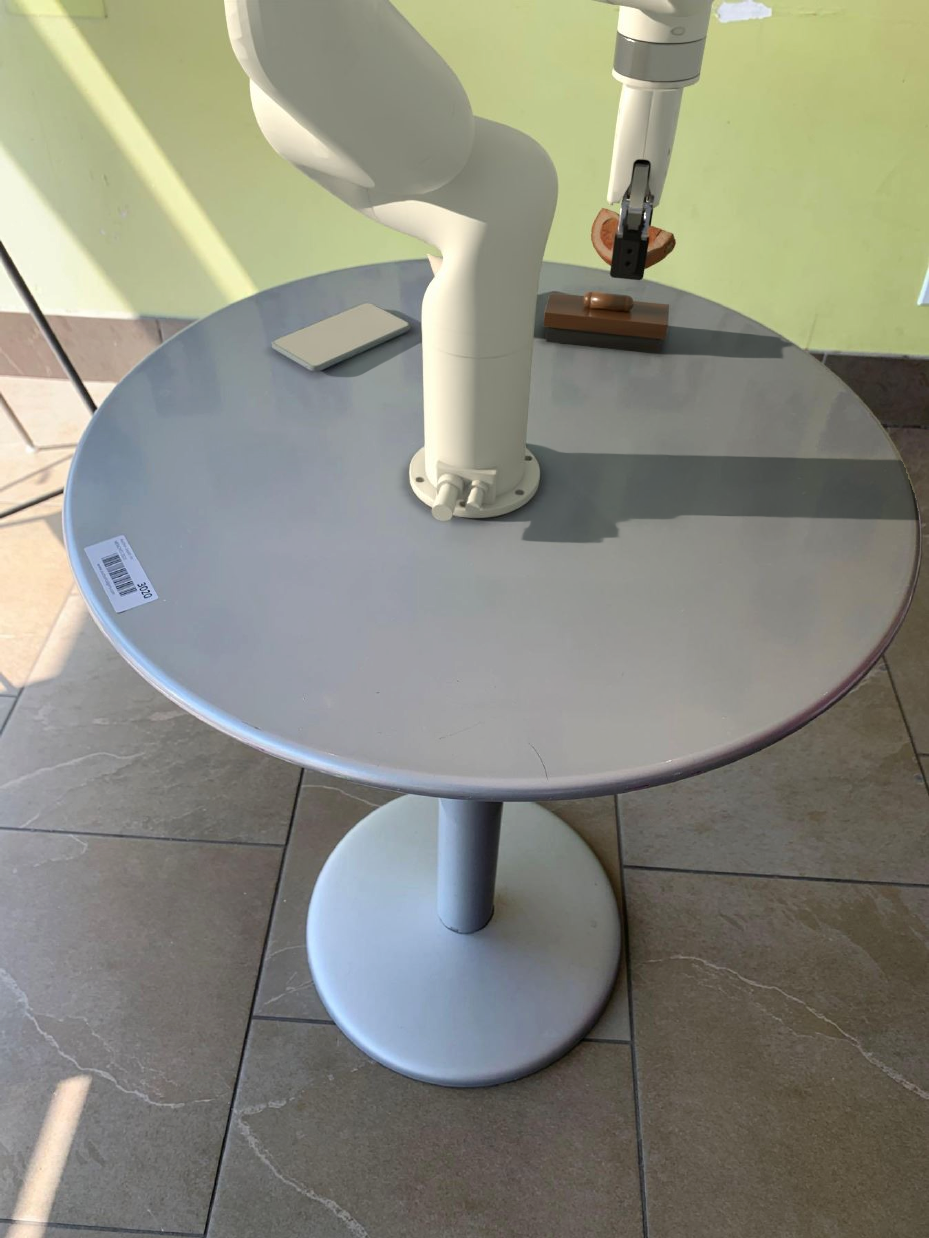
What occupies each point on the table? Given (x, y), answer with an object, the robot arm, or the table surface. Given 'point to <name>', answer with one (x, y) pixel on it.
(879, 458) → the table surface
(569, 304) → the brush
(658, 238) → the fruit slice
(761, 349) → the table surface
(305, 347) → the smartphone
